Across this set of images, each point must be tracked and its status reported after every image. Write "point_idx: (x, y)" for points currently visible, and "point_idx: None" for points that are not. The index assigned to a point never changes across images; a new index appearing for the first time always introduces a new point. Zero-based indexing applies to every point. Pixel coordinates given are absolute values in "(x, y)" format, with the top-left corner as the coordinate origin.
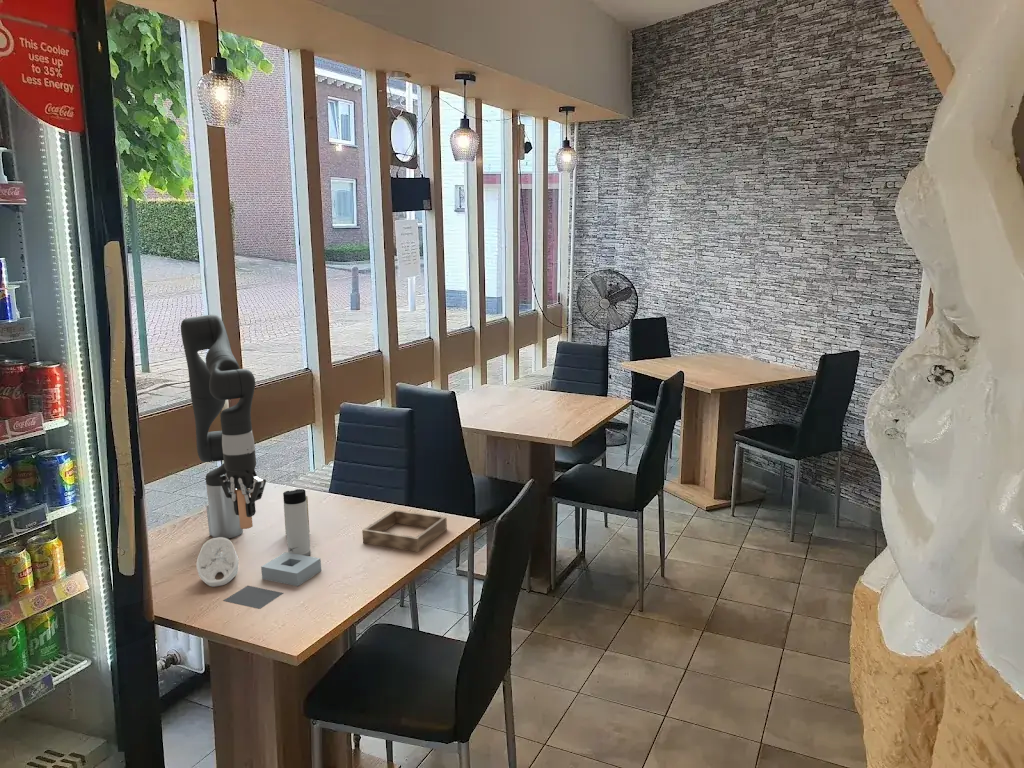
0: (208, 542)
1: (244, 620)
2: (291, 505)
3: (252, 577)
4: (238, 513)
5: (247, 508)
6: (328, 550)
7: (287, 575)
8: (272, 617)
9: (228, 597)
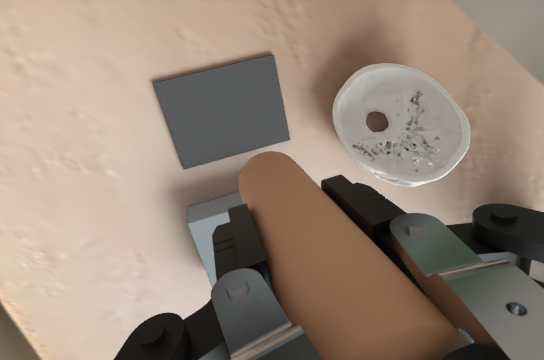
0: (462, 135)
1: (133, 21)
2: None
3: (319, 171)
4: (325, 188)
5: (241, 239)
6: None
7: (217, 209)
8: (88, 78)
9: (276, 74)
